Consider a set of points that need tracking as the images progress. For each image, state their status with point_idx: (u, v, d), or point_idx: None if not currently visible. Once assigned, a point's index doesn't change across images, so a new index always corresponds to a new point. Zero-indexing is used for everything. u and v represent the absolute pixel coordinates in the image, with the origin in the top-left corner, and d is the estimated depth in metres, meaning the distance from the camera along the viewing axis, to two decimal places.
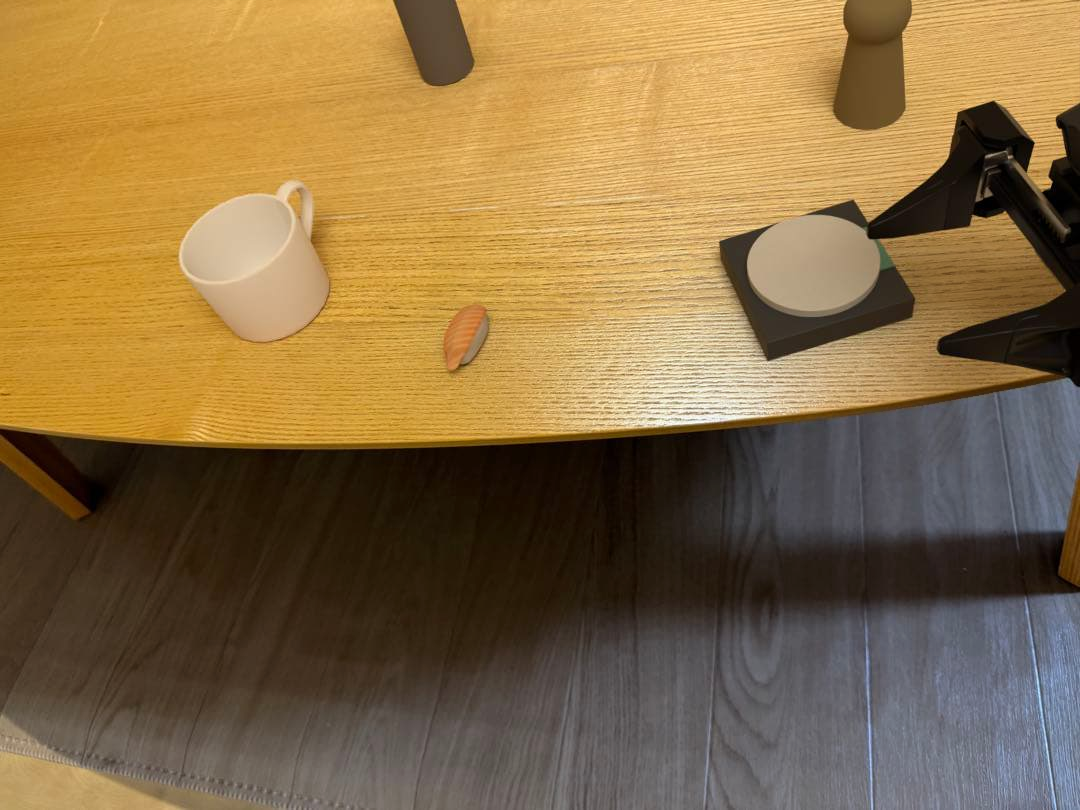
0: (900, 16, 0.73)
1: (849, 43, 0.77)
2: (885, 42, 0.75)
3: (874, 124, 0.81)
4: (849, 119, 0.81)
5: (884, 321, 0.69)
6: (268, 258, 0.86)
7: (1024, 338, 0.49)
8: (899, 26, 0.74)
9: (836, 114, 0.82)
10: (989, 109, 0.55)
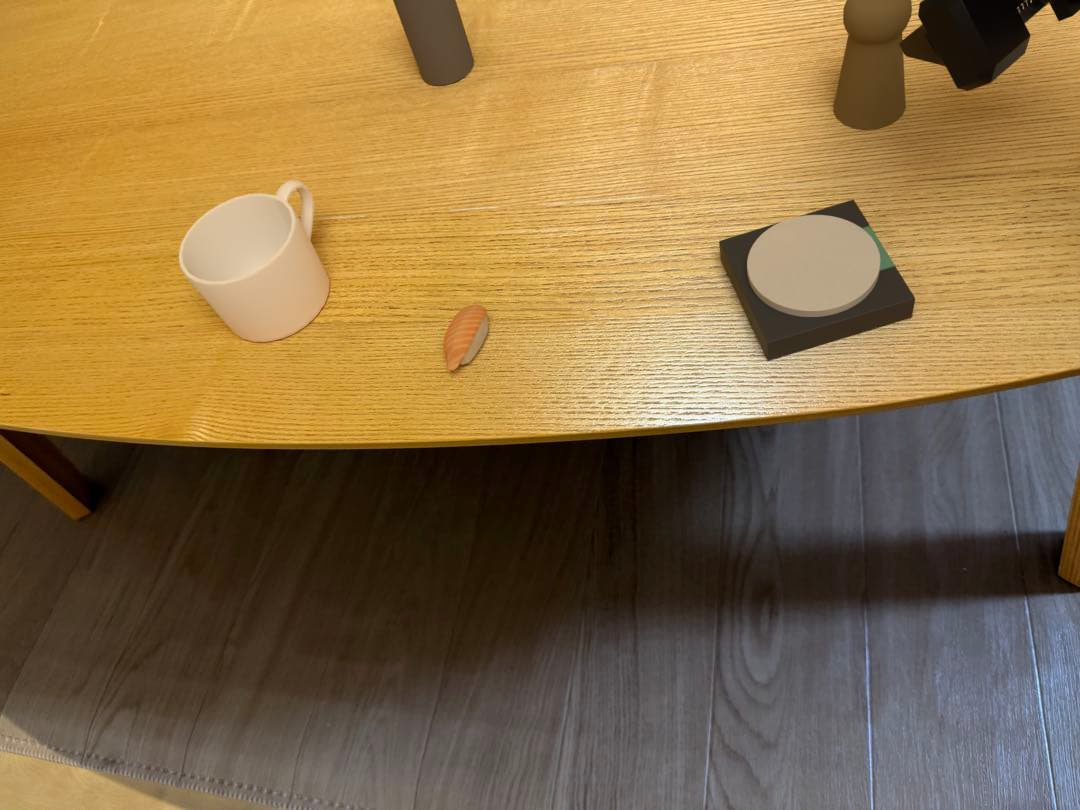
0: (900, 15, 0.73)
1: (849, 43, 0.77)
2: (885, 42, 0.75)
3: (874, 124, 0.81)
4: (849, 119, 0.81)
5: (884, 321, 0.69)
6: (268, 258, 0.86)
7: None
8: (899, 26, 0.74)
9: (836, 114, 0.82)
10: None
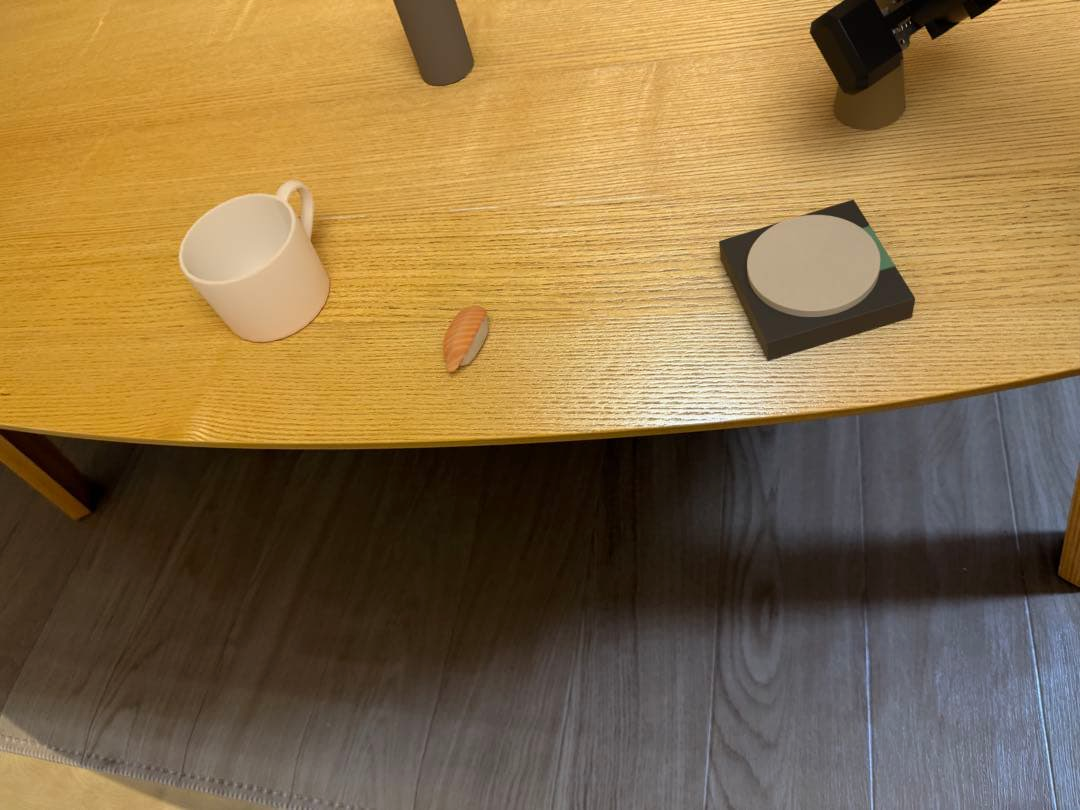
0: None
1: None
2: None
3: (874, 124, 0.81)
4: (849, 119, 0.81)
5: (884, 321, 0.69)
6: (268, 258, 0.86)
7: None
8: (899, 26, 0.74)
9: (836, 114, 0.82)
10: None
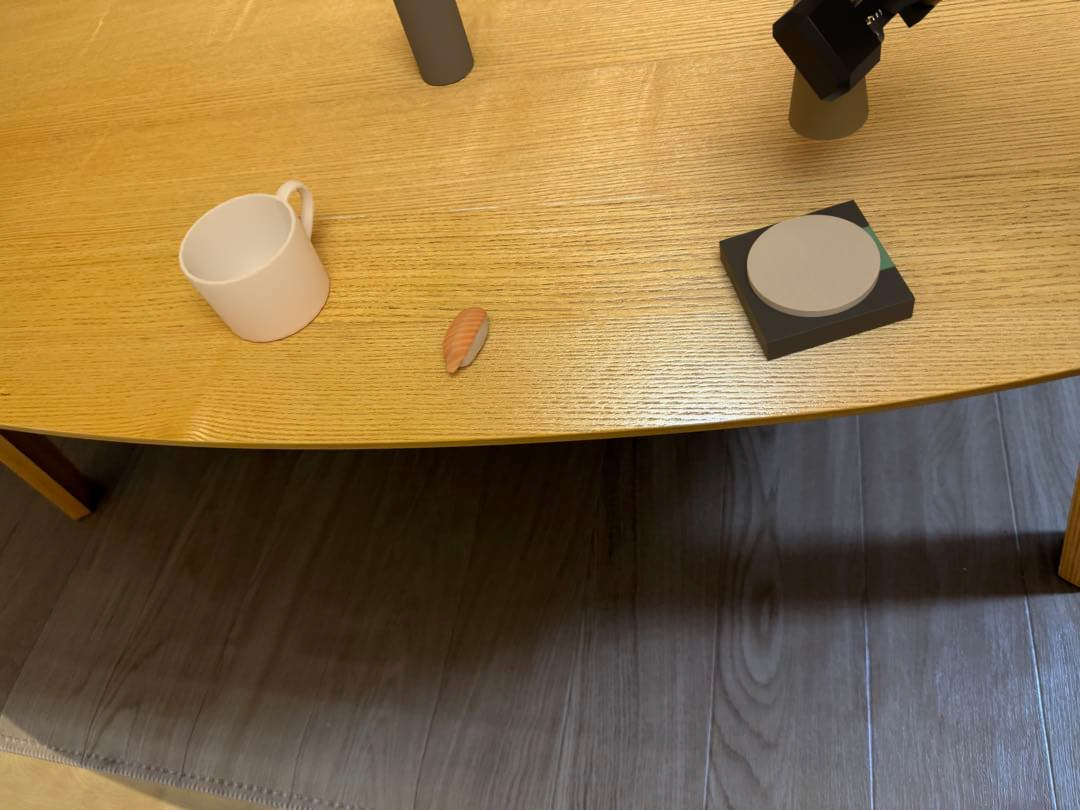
0: None
1: None
2: None
3: (840, 133, 0.71)
4: (811, 131, 0.72)
5: (884, 321, 0.69)
6: (268, 258, 0.86)
7: None
8: None
9: (794, 128, 0.73)
10: None
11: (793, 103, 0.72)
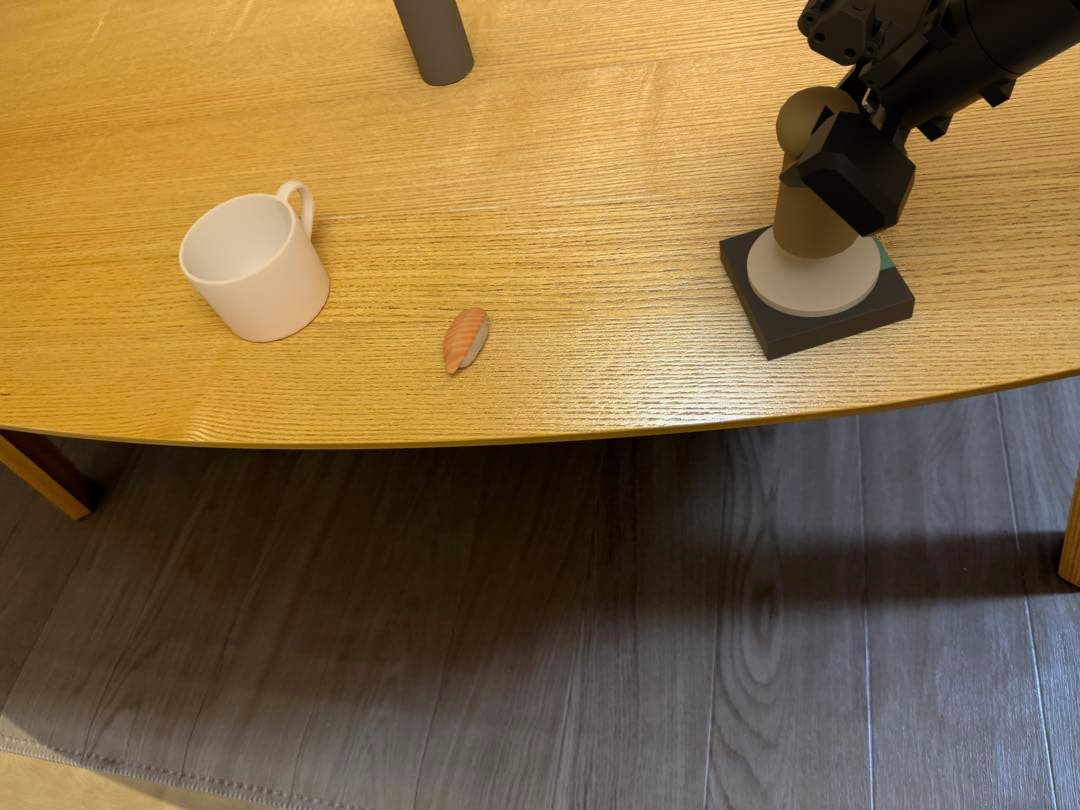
0: None
1: None
2: None
3: (840, 247, 0.65)
4: (809, 251, 0.66)
5: (884, 321, 0.69)
6: (268, 258, 0.86)
7: None
8: None
9: (787, 249, 0.67)
10: None
11: (783, 224, 0.66)
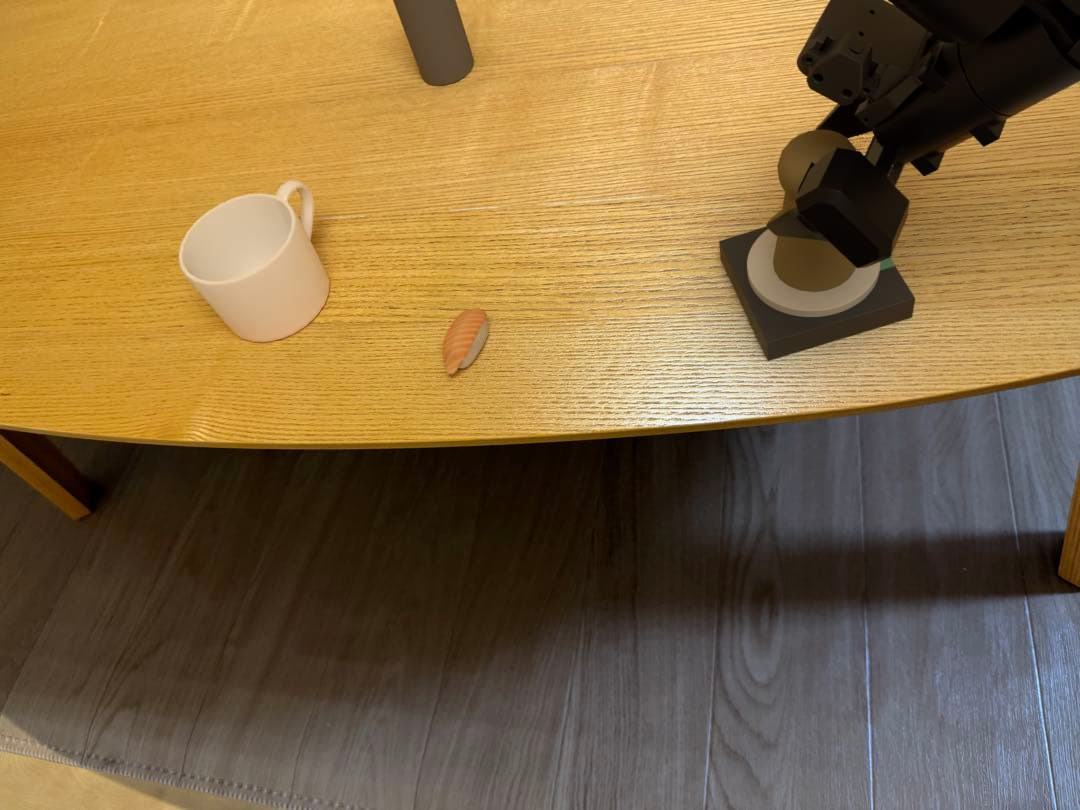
0: None
1: None
2: None
3: (837, 282, 0.68)
4: (807, 284, 0.68)
5: (884, 321, 0.69)
6: (268, 258, 0.86)
7: None
8: None
9: (786, 281, 0.69)
10: None
11: (783, 258, 0.68)
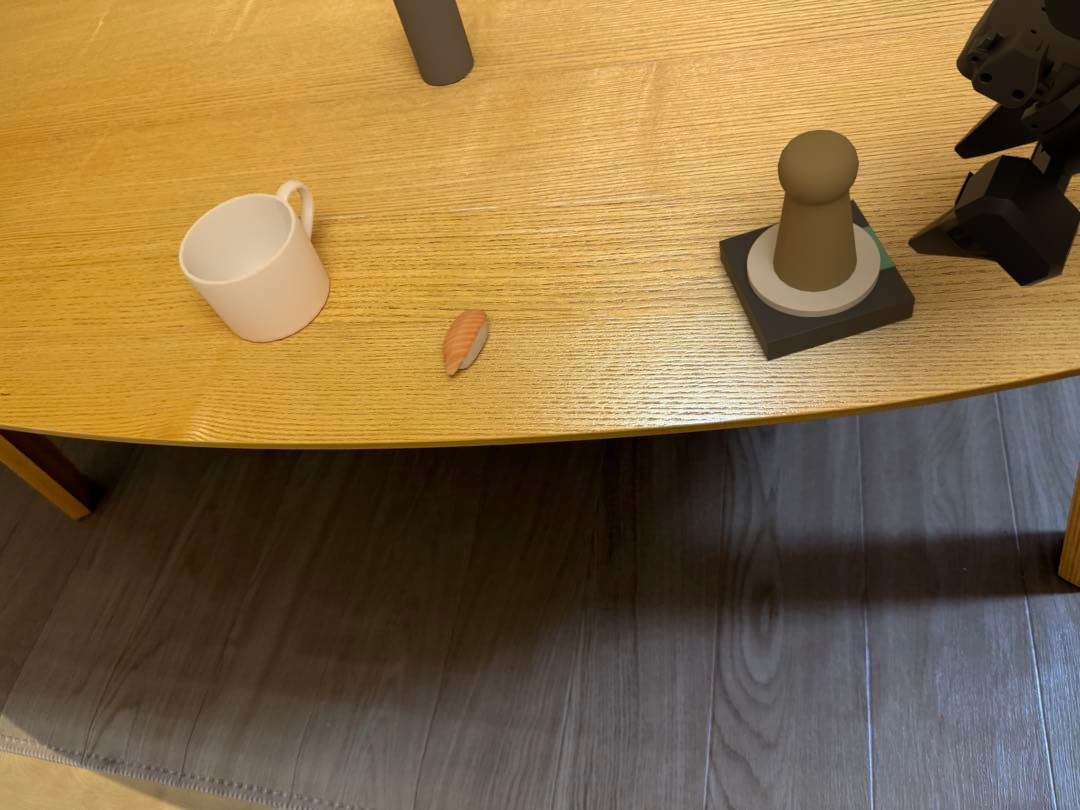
0: (854, 166, 0.61)
1: (793, 207, 0.64)
2: (840, 197, 0.63)
3: (837, 282, 0.68)
4: (807, 284, 0.68)
5: (884, 321, 0.69)
6: (268, 258, 0.86)
7: (959, 232, 0.54)
8: (854, 177, 0.62)
9: (786, 281, 0.69)
10: None
11: (783, 258, 0.68)
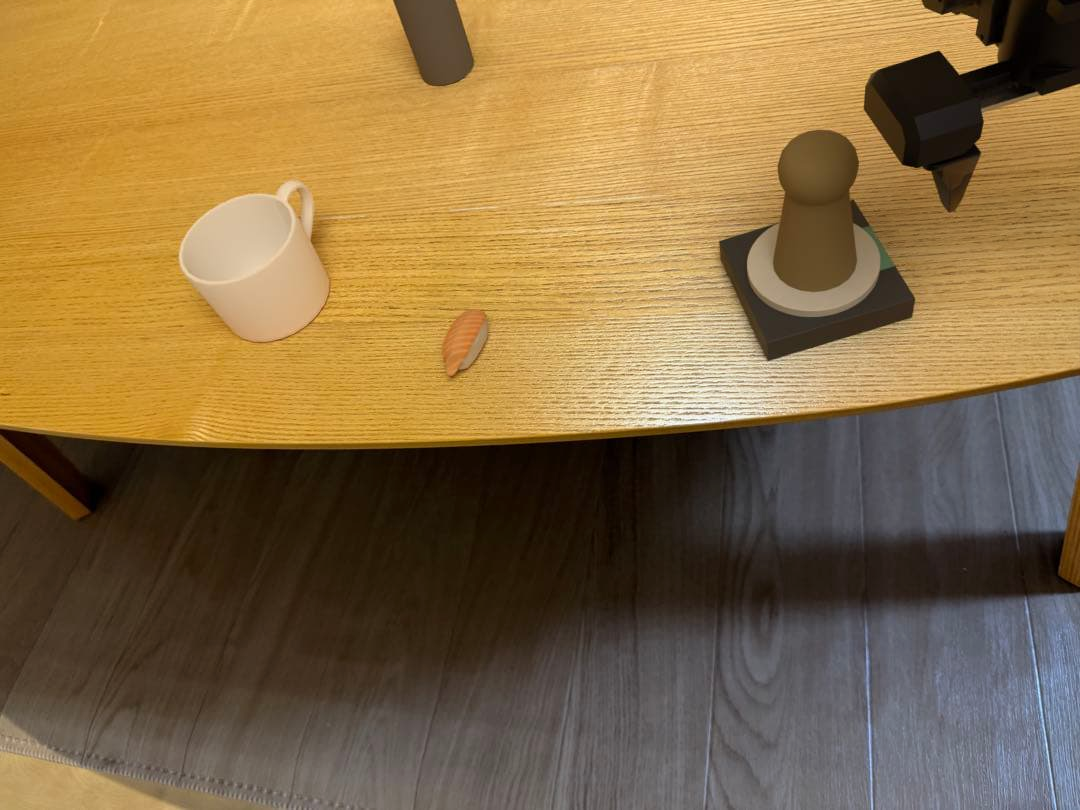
0: (854, 166, 0.61)
1: (793, 207, 0.64)
2: (840, 197, 0.63)
3: (837, 282, 0.68)
4: (807, 284, 0.68)
5: (884, 321, 0.69)
6: (268, 258, 0.86)
7: None
8: (854, 177, 0.62)
9: (786, 281, 0.69)
10: None
11: (783, 258, 0.68)
